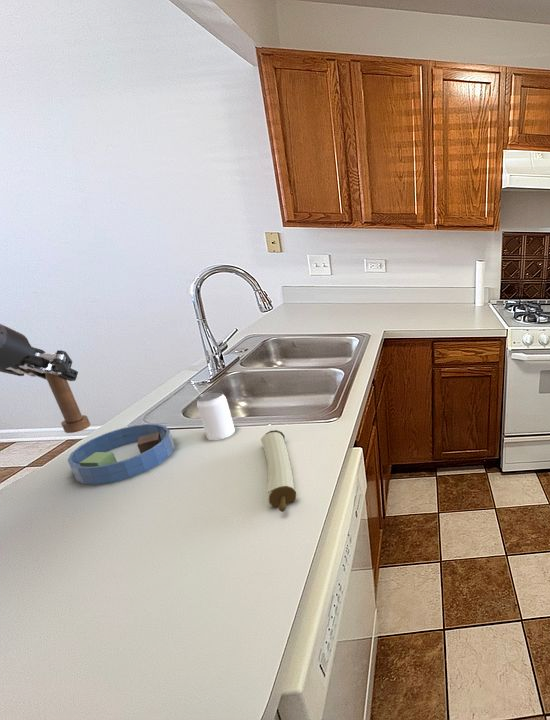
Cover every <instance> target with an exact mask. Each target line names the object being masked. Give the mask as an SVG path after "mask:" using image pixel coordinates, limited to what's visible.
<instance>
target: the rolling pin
mask: <svg viewBox="0 0 550 720" xmlns="http://www.w3.org/2000/svg"><path fill="white" fill-rule="evenodd" d="M285 440H286V439H285V434H284V433H283V432H282V431H280V430H277V429H275V430H269V431H268V432H266V433H265V434H264V435H263V436H262V437H261V438H260V441H261V444H262V447H263V450H264V455H265V459H266V463H267V476H268V477H267V485H266V492H265V493H266V494H267V493H269V498H268V503H269V504H270V505H271V506H272V507H273V508H278V510H279V511H280V512H281V513H283V512H285V511H286V509H287V505H290V504H293V503H294V502H295V501H296V499H297V491H296V490H295V484H294V477H293V471H292V465H291V462H290V457H289V453H288V449H287V445H286V441H285Z"/></svg>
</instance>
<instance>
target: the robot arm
mask: <svg viewBox="0 0 550 720" xmlns="http://www.w3.org/2000/svg"><path fill="white" fill-rule="evenodd" d="M52 365H55V368H54V369H52ZM72 365H73V360H72V359H71V357H70V355H69V354H68V353H67V351H65V350H61V349H60V350H58V349H57V350H56V352H54V353H50V352H49V353H48V352H46V351H45V350H44V349H40V348H37V347H35V346H32V345H31V343H30V341H29V339H28V338H27V336H26V335H24V334H23V333H22V332H19V331H16V330H15V329H13V328H10V327H9V326H6V325H5V324H3V323H0V373H4V374H9V375H13V376H18V377H24V376H25V375H27V376H29V377H32V378H33V377H34V378H35V377H38V378H41V379H44V380H46V381H47V379H46V377H45V374H44V373H51V374H54V375H56V376H59V377H61V378H64V379H66V380H67V381H69V382H75V381H76V380H77V378H78V374H79V371H78V370H75V369H73V368H72Z"/></svg>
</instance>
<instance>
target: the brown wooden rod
mask: <svg viewBox="0 0 550 720" xmlns="http://www.w3.org/2000/svg"><path fill="white" fill-rule="evenodd" d="M54 368H55V365H52V369H54ZM44 374H45V377H46V379H47V380H46V379H45V380H46V381H47V383H48V386H49V388H50V390H51V393H52V395H53V398H54V399H55V403H56V404H57V406H58V408H59V410H60V414H61V415H62V418H63V421H61V423H60V425H61V427H62V429H63V431H64V433H66V434H73V433H74V434H75V433H78V432H82V431H84V430H86V429H88V428H89V427H91V422H90V419H89V417H88V416H87V415H86V414H85V415H83V414H82V412H81V410H80V407H79V405H78V403H77V400H76V398H75V395H74V394H73V391H72V389H71V386H70V383H69V382H68V380H66V379H64V378H61V377H59V376H56V375H54V374H51V373H44Z"/></svg>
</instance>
